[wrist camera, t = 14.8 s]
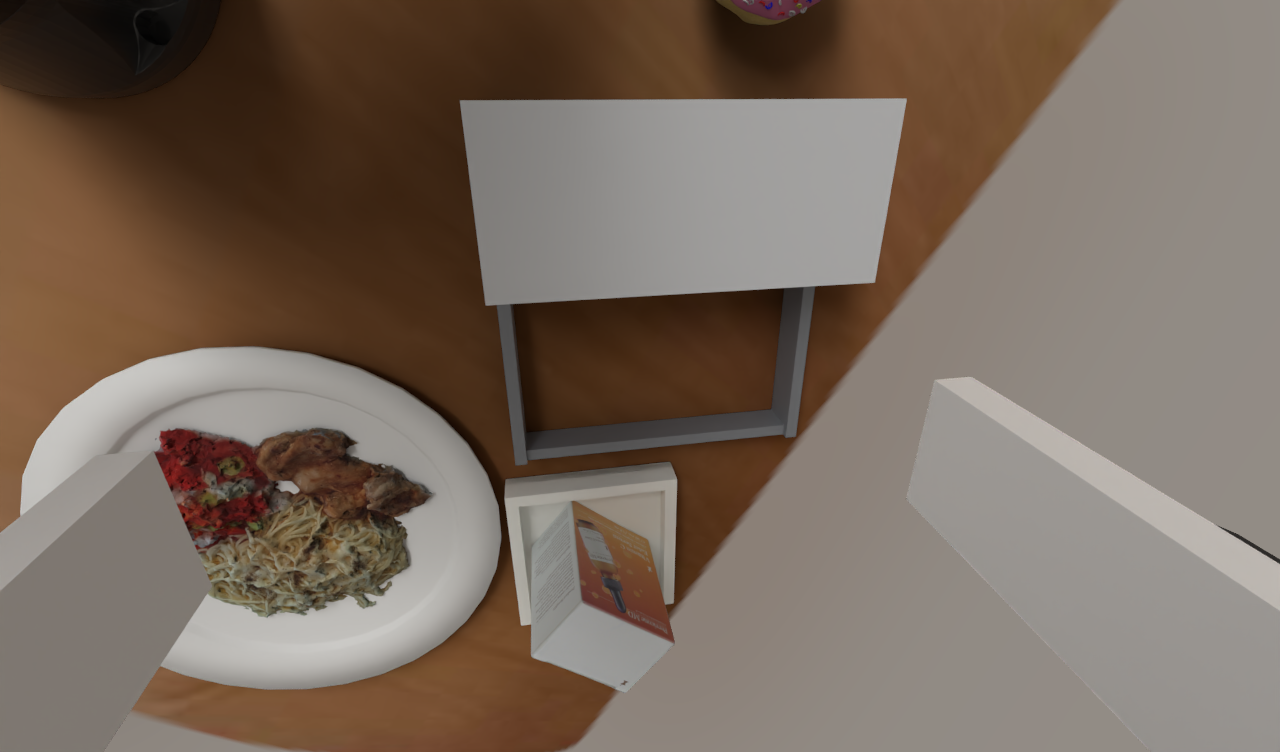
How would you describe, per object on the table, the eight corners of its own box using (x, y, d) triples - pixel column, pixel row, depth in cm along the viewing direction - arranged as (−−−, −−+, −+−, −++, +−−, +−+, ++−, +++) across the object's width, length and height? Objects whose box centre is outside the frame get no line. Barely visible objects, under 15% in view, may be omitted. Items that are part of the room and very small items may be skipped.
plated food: (460, 679, 52) (456, 715, 49) (53, 655, 43) (18, 696, 40) (544, 391, 41) (545, 414, 38) (27, 282, 33) (-24, 300, 30)
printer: (516, 442, 42) (513, 528, 34) (477, 102, 33) (459, 100, 24) (779, 417, 45) (838, 489, 37) (815, 100, 36) (906, 98, 27)
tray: (521, 603, 49) (521, 625, 47) (505, 479, 43) (504, 498, 41) (667, 582, 51) (673, 603, 49) (670, 461, 45) (677, 479, 43)
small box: (649, 538, 47) (679, 644, 38) (607, 583, 49) (627, 697, 39) (570, 496, 44) (582, 601, 35) (528, 545, 45) (529, 659, 36)
